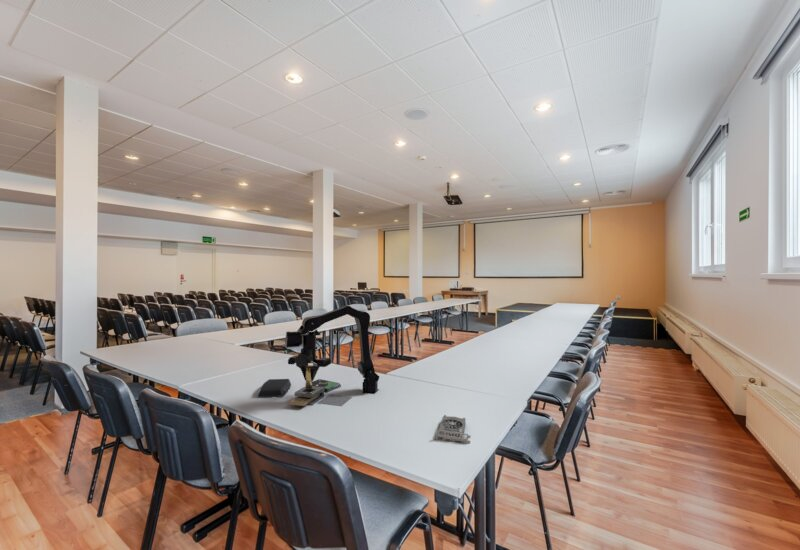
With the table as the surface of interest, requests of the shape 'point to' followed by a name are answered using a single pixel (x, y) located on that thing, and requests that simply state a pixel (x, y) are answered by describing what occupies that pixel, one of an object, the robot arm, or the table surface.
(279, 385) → the external hard drive
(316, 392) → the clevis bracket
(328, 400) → the rubber mat
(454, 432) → the graphics card
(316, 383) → the disk drive
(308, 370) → the brass pin
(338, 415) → the table surface
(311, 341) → the robot arm
